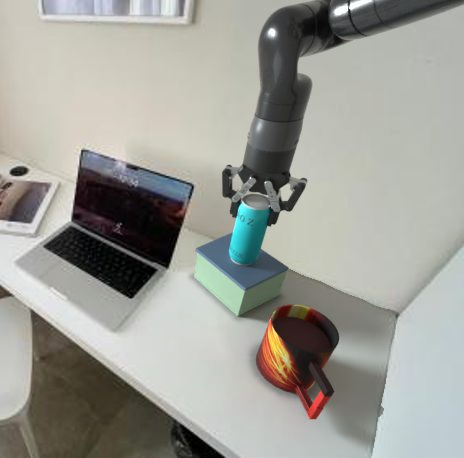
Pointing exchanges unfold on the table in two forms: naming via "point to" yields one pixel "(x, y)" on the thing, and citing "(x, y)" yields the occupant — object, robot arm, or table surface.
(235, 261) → the beverage can
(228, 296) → the storage box
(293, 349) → the mug
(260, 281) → the box lid
